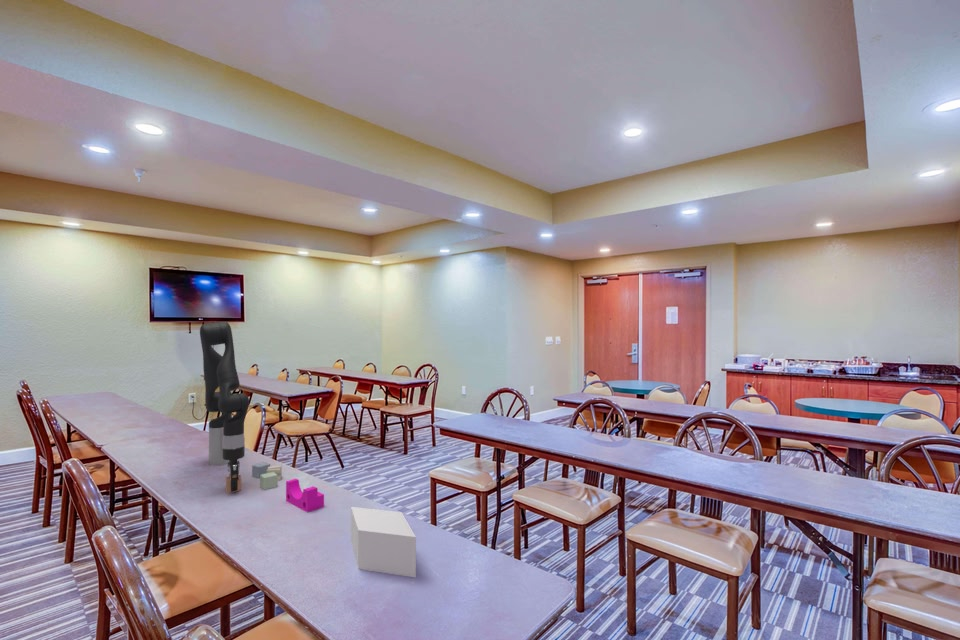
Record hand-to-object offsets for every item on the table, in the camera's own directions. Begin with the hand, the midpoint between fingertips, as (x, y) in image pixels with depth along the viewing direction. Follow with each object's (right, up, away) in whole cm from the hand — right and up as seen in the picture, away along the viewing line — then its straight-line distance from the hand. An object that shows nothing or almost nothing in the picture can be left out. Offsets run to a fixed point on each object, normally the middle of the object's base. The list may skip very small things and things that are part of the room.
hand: (233, 487), depth 170 cm
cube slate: (+3, -2, +16) cm, 16 cm away
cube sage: (+12, -1, +3) cm, 13 cm away
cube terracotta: (0, -1, 0) cm, 1 cm away
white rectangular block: (+69, -1, -50) cm, 85 cm away
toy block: (+33, -1, -13) cm, 36 cm away
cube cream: (+10, -1, +11) cm, 16 cm away
